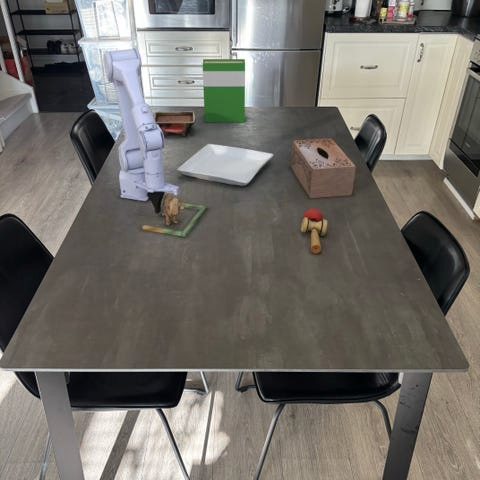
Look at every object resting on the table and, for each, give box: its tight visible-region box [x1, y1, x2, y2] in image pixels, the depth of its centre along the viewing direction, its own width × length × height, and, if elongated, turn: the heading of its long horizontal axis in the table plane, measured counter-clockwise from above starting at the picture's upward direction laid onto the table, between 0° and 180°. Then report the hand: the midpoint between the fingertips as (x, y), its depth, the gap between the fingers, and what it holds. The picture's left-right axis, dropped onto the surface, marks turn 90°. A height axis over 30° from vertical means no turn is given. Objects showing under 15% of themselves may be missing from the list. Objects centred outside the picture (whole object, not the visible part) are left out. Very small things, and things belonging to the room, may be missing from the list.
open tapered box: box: [153, 110, 197, 138], centre depth 222 cm, size 14×18×10 cm
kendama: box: [300, 208, 328, 254], centre depth 155 cm, size 8×6×18 cm
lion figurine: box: [161, 193, 185, 226], centre depth 163 cm, size 15×5×9 cm, turn 23°
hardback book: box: [202, 58, 246, 123], centre depth 231 cm, size 18×7×24 cm, turn 91°
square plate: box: [176, 143, 274, 187], centre depth 193 cm, size 27×27×4 cm
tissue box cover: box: [290, 137, 357, 199], centre depth 185 cm, size 26×14×10 cm, turn 10°
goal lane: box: [141, 202, 208, 238], centre depth 165 cm, size 14×18×1 cm
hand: (158, 212), depth 166 cm, fingers closed
